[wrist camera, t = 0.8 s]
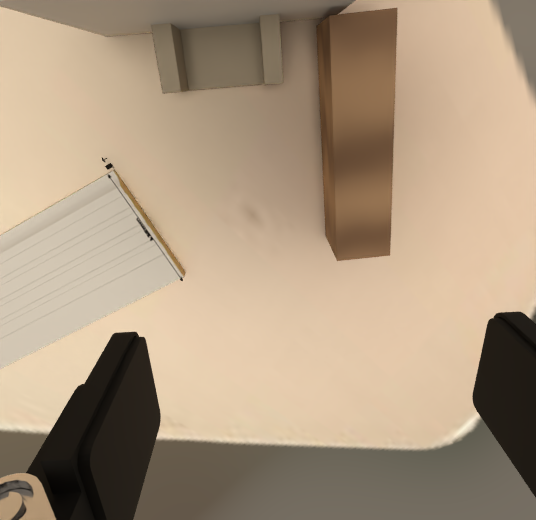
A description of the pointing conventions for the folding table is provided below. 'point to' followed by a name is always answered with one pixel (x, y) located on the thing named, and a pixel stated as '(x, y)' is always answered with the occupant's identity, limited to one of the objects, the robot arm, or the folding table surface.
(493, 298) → the folding table surface
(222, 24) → the panel
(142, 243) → the grey flat board
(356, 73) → the rail
